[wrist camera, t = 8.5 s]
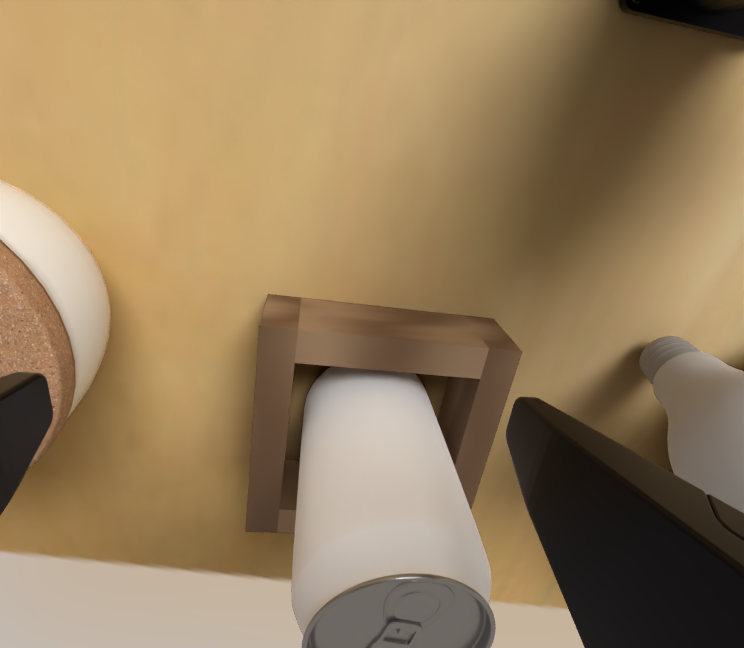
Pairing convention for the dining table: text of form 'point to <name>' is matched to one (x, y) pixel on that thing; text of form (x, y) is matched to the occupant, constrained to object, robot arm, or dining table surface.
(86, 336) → the lidded jar
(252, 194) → the dining table surface
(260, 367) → the sleeve block
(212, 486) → the dining table surface
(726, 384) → the lightbulb
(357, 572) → the can
